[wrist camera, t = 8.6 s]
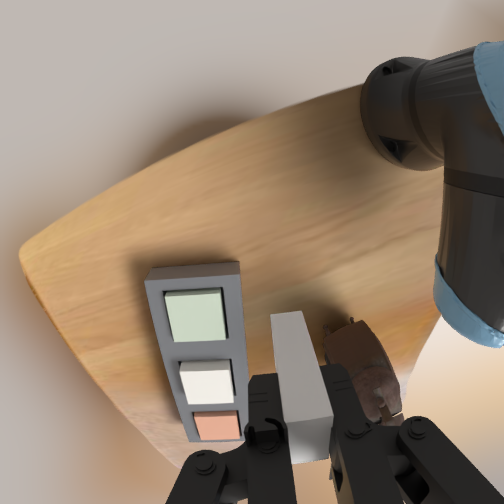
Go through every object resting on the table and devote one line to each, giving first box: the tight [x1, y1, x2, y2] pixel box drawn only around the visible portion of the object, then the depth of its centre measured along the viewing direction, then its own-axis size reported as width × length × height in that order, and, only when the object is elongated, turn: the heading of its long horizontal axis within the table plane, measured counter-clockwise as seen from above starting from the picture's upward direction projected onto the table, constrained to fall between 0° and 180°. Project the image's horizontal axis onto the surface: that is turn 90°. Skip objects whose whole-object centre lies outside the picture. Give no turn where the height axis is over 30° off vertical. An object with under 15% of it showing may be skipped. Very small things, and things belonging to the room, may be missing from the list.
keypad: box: [144, 262, 249, 442], centre depth 42 cm, size 11×31×4 cm, turn 3°
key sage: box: [165, 287, 226, 342], centre depth 37 cm, size 6×6×3 cm
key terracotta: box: [194, 410, 240, 440], centre depth 44 cm, size 6×6×3 cm
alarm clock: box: [323, 317, 405, 426], centre depth 34 cm, size 15×7×20 cm, turn 25°
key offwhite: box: [179, 359, 234, 404], centre depth 39 cm, size 6×6×3 cm
